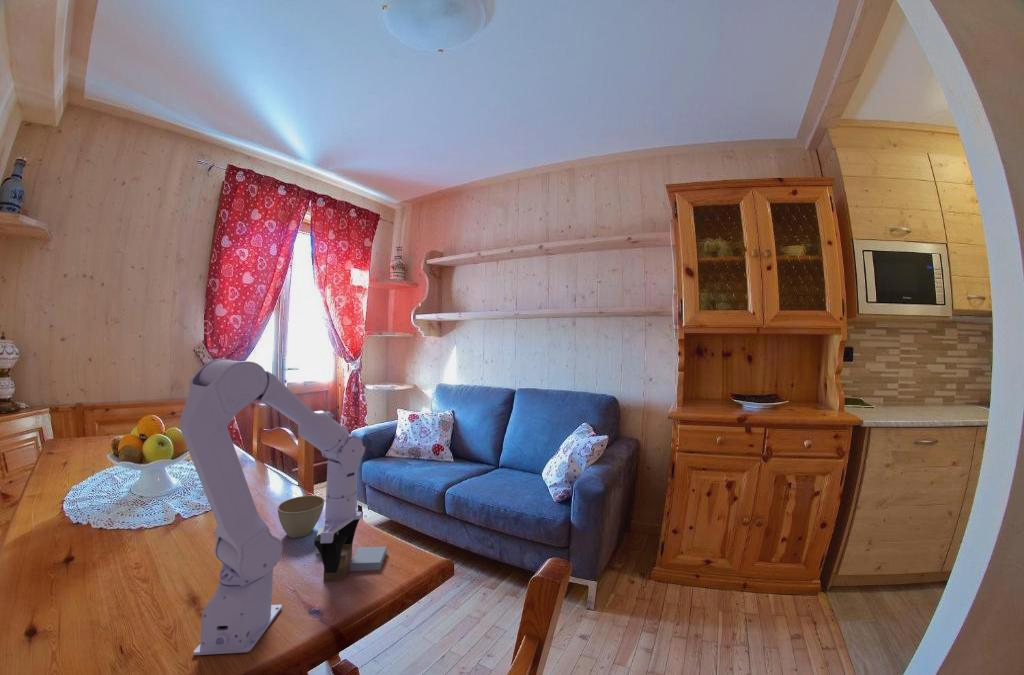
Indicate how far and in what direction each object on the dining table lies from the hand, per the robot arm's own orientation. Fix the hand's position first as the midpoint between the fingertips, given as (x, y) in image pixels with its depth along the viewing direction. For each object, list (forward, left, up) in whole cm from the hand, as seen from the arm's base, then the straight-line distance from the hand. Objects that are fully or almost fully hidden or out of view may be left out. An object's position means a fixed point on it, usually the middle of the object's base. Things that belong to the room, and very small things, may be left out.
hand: (338, 559), depth 73 cm
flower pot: (+17, +15, -3) cm, 23 cm away
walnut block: (0, 0, -3) cm, 3 cm away
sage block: (+10, +6, -3) cm, 12 cm away
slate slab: (+4, -5, -3) cm, 7 cm away
